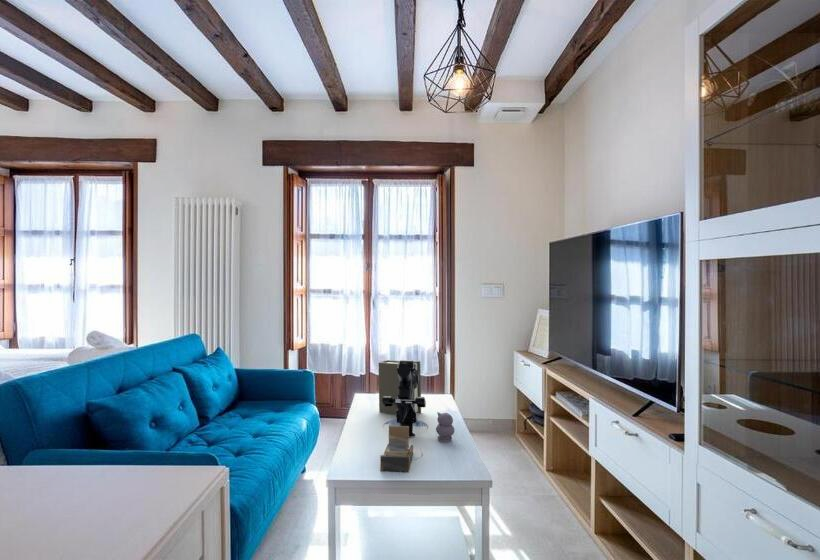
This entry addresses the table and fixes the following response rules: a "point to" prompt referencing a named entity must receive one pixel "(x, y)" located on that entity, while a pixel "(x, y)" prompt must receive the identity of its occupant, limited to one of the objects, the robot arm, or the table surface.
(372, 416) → the table surface
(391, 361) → the book
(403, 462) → the roller track
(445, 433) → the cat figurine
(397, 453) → the slab
